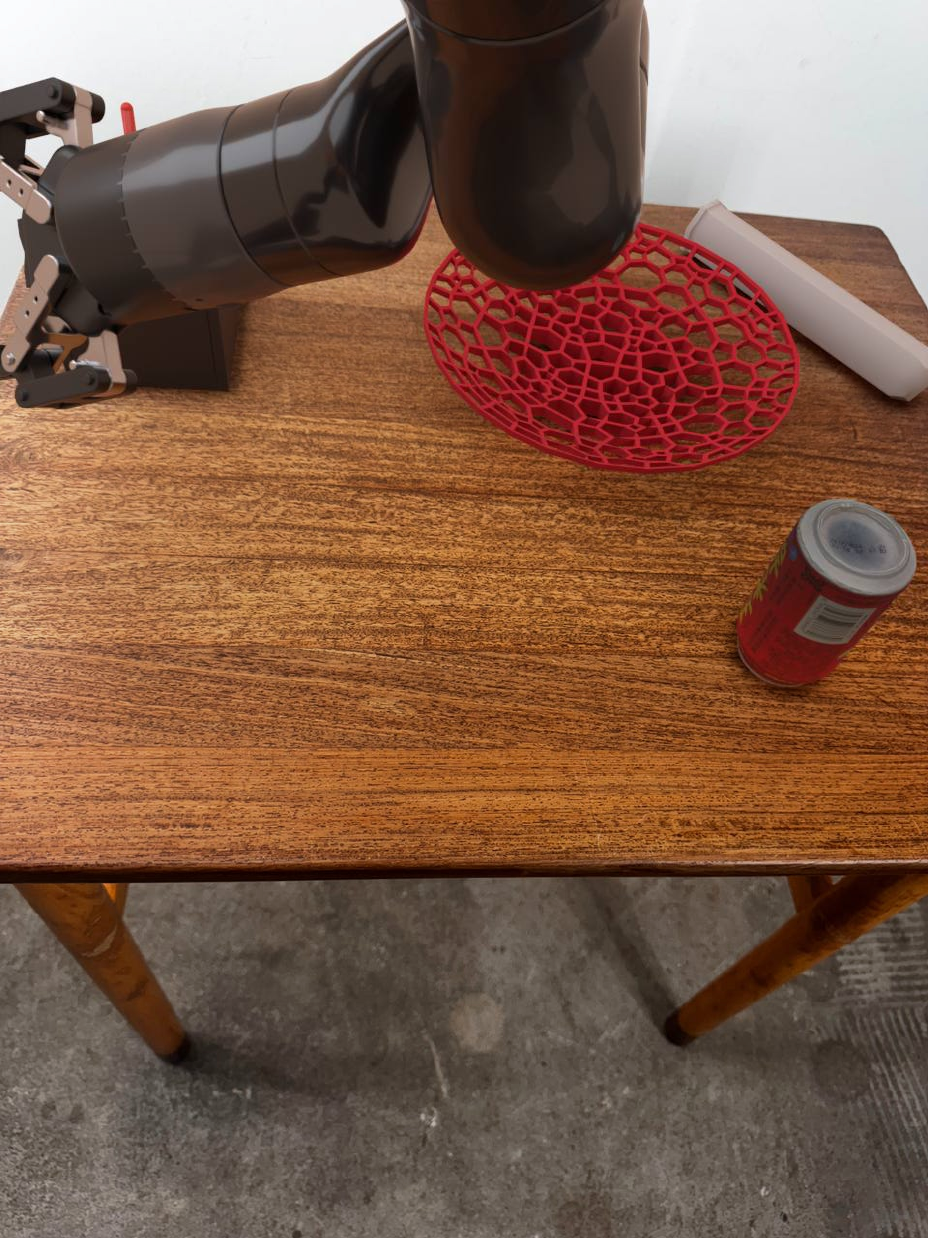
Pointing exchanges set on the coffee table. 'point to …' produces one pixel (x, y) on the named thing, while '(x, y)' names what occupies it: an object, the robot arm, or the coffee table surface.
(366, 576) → the coffee table surface
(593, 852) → the coffee table surface
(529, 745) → the coffee table surface
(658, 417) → the bowl
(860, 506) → the soda can
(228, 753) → the coffee table surface
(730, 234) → the tube
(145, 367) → the bin
